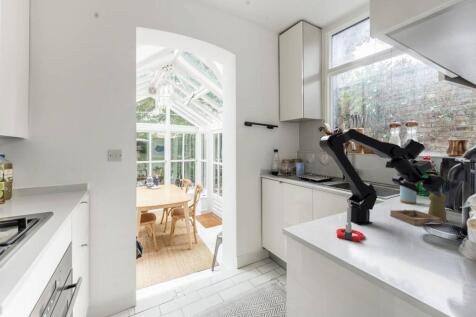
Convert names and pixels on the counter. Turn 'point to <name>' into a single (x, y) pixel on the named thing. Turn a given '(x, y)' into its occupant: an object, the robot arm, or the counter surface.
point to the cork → (437, 206)
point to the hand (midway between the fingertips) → (428, 193)
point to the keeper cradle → (423, 218)
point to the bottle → (407, 195)
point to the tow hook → (349, 228)
